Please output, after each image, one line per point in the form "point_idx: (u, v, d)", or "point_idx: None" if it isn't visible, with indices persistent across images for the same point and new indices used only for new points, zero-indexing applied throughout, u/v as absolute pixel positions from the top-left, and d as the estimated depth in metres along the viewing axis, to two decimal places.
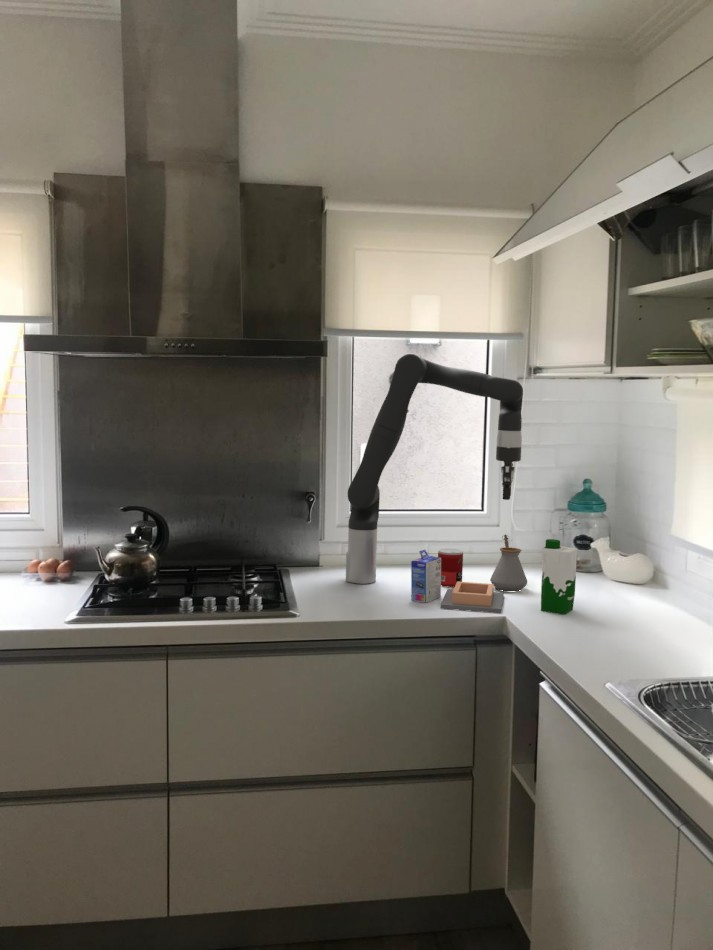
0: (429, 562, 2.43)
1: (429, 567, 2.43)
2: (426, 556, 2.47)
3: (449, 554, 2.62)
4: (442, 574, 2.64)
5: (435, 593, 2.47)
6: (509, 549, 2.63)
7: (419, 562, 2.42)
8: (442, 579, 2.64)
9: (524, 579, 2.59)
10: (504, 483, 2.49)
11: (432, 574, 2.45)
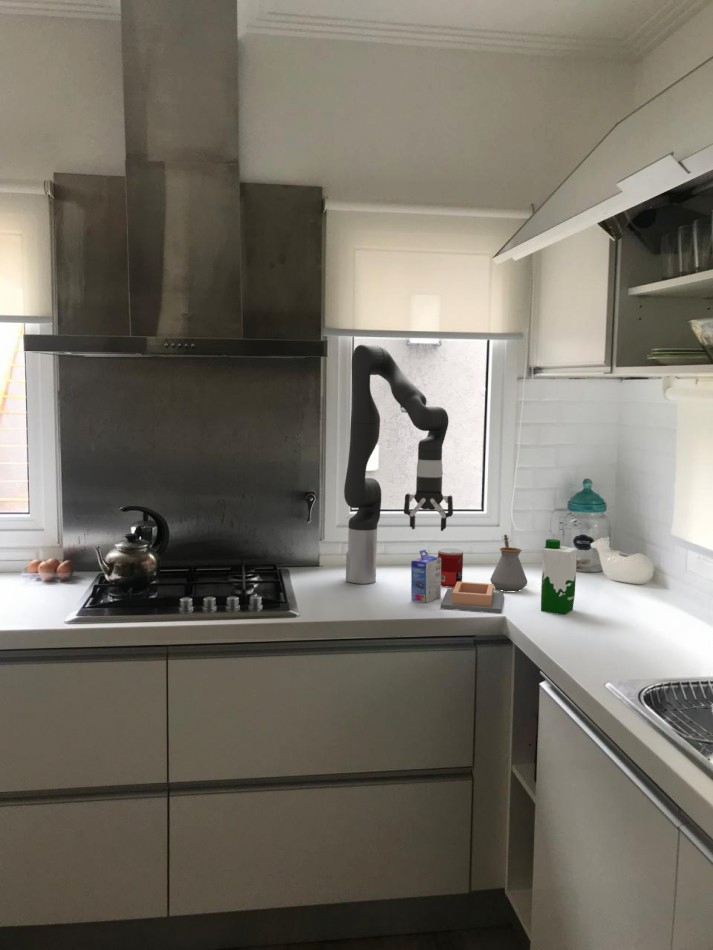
0: (429, 562, 2.43)
1: (429, 567, 2.43)
2: (426, 556, 2.47)
3: (449, 554, 2.62)
4: (442, 574, 2.64)
5: (435, 593, 2.47)
6: (509, 549, 2.63)
7: (419, 562, 2.42)
8: (442, 579, 2.64)
9: (524, 579, 2.59)
10: (452, 513, 2.43)
11: (432, 574, 2.45)
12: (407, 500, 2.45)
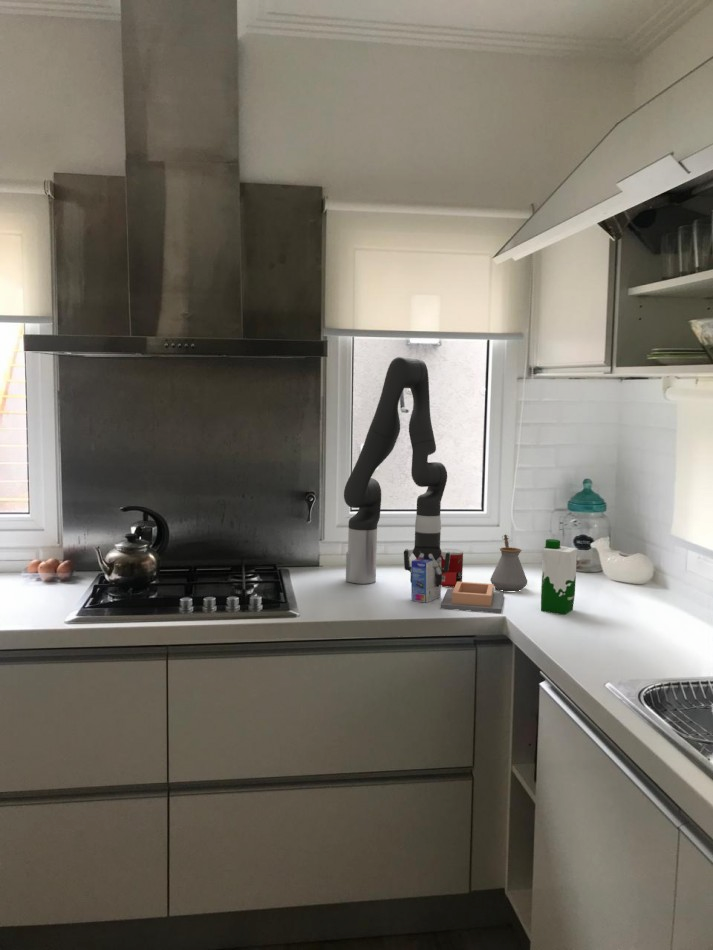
0: (429, 561, 2.42)
1: (430, 567, 2.43)
2: None
3: None
4: (442, 574, 2.64)
5: (435, 593, 2.47)
6: (509, 549, 2.63)
7: (419, 562, 2.42)
8: (442, 579, 2.64)
9: (524, 579, 2.59)
10: (447, 570, 2.45)
11: (432, 574, 2.45)
12: (406, 556, 2.46)
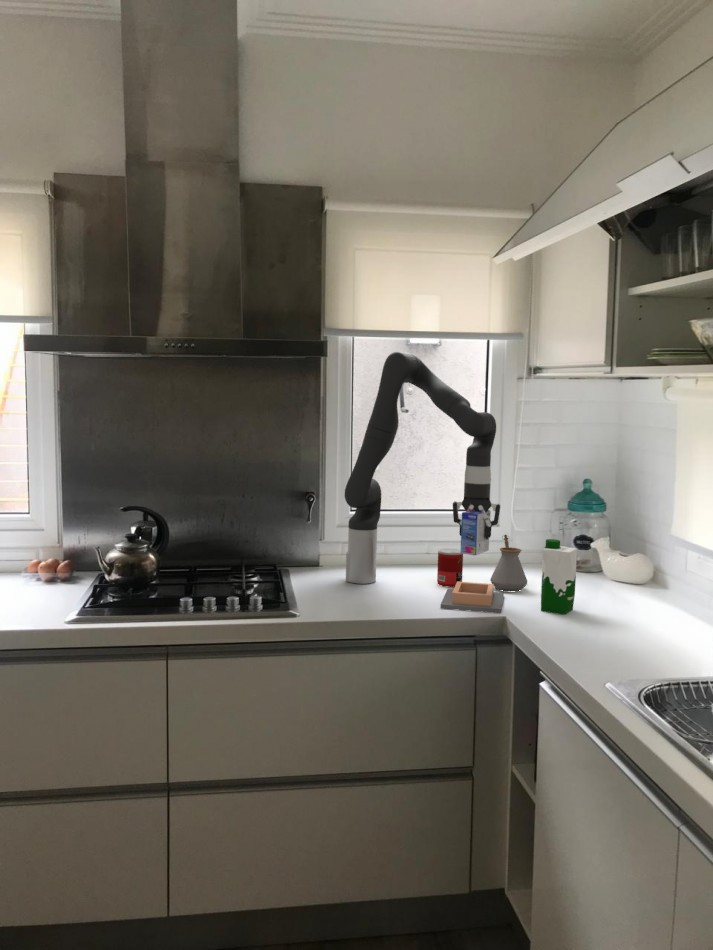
0: (480, 513, 2.38)
1: (480, 519, 2.39)
2: None
3: (449, 554, 2.62)
4: (442, 574, 2.64)
5: (484, 546, 2.43)
6: (509, 549, 2.63)
7: (470, 514, 2.38)
8: (442, 579, 2.64)
9: (524, 579, 2.59)
10: None
11: (482, 527, 2.40)
12: (455, 508, 2.42)
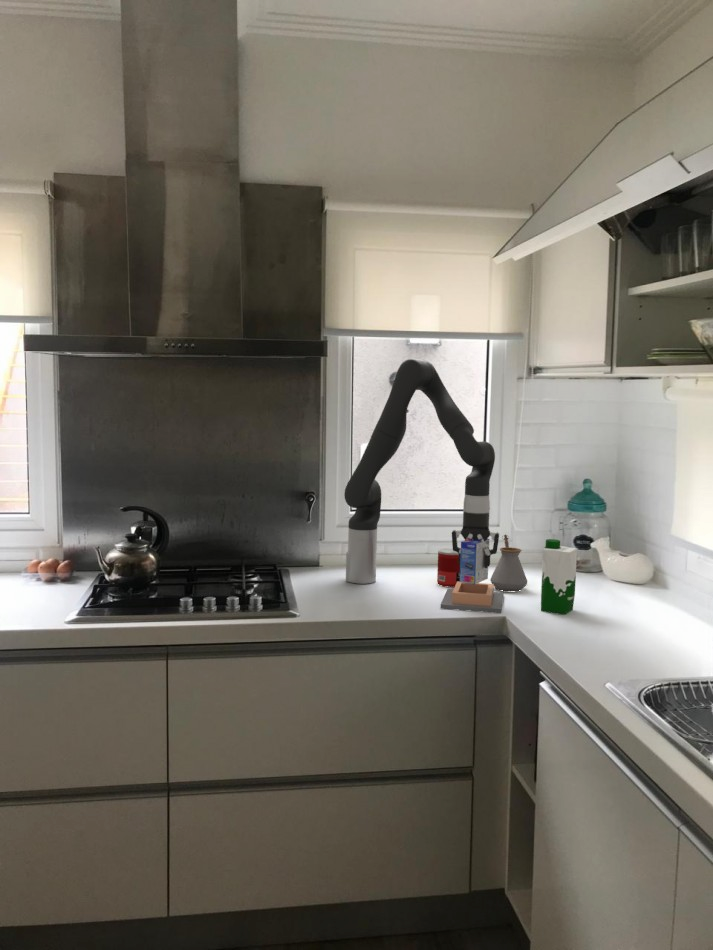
0: (479, 543, 2.39)
1: (479, 548, 2.39)
2: None
3: (449, 554, 2.62)
4: (442, 574, 2.64)
5: (483, 574, 2.43)
6: (509, 549, 2.63)
7: (469, 543, 2.39)
8: (442, 579, 2.64)
9: (524, 579, 2.59)
10: None
11: (481, 556, 2.41)
12: (454, 537, 2.43)
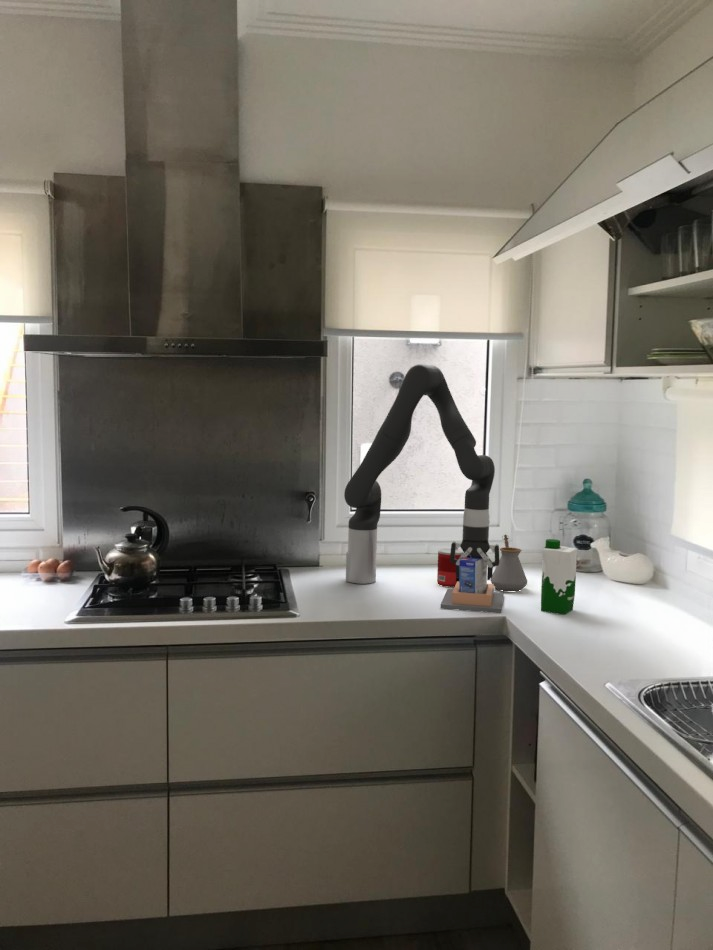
0: (478, 560, 2.40)
1: (478, 566, 2.40)
2: None
3: (449, 554, 2.62)
4: (442, 574, 2.64)
5: (482, 592, 2.44)
6: (509, 549, 2.63)
7: (468, 561, 2.39)
8: (442, 579, 2.64)
9: (524, 579, 2.59)
10: (498, 563, 2.41)
11: (480, 573, 2.42)
12: (453, 549, 2.43)
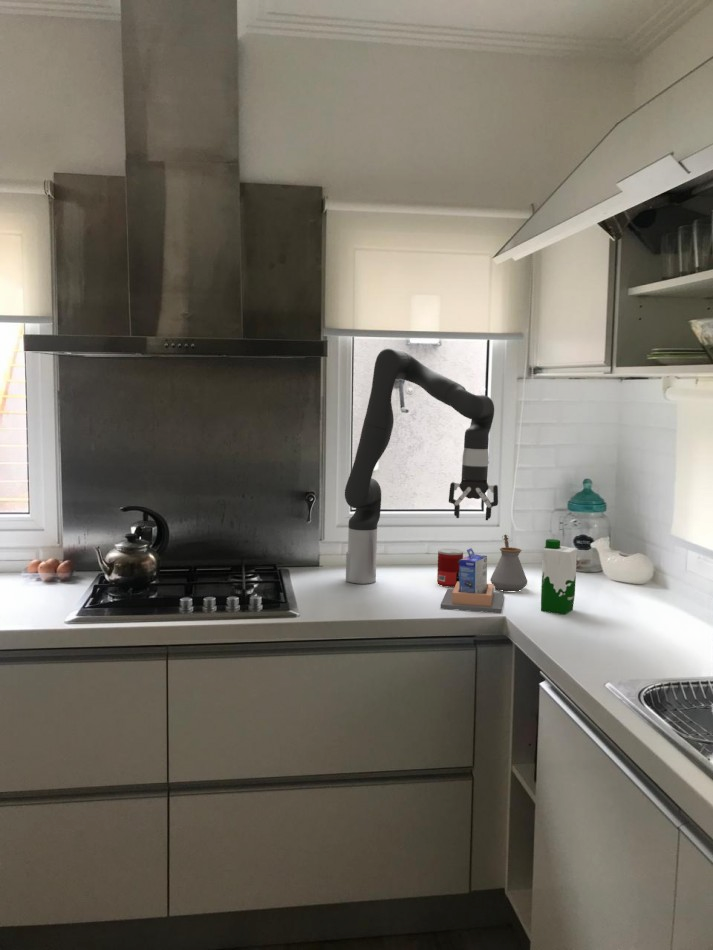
0: (478, 560, 2.40)
1: (478, 566, 2.40)
2: (473, 555, 2.44)
3: (449, 554, 2.62)
4: (442, 574, 2.64)
5: (482, 592, 2.44)
6: (509, 549, 2.63)
7: (468, 561, 2.39)
8: (442, 579, 2.64)
9: (524, 579, 2.59)
10: None
11: (480, 573, 2.42)
12: (452, 489, 2.43)
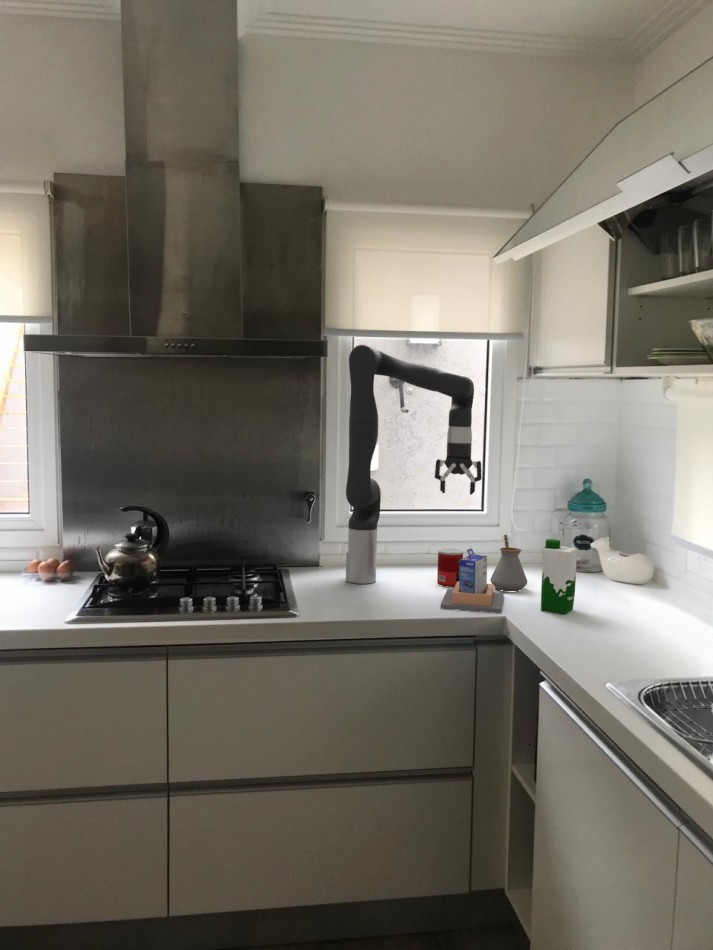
0: (478, 560, 2.40)
1: (478, 566, 2.40)
2: (473, 555, 2.44)
3: (449, 554, 2.62)
4: (442, 574, 2.64)
5: (482, 592, 2.44)
6: (509, 549, 2.63)
7: (468, 561, 2.39)
8: (442, 579, 2.64)
9: (524, 579, 2.59)
10: (480, 478, 2.55)
11: (480, 573, 2.42)
12: (438, 465, 2.57)
